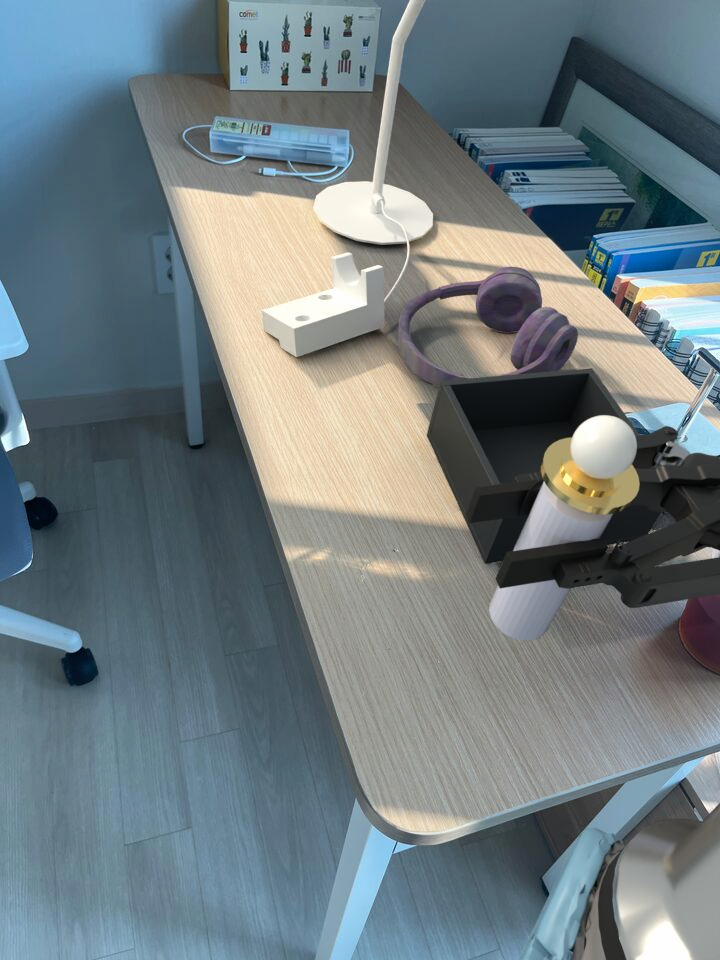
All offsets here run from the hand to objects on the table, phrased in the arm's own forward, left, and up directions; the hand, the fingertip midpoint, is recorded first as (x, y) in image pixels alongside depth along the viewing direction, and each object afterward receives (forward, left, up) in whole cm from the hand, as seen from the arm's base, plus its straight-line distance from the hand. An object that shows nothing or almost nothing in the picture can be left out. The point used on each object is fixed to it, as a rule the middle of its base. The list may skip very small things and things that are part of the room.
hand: (488, 536), depth 47 cm
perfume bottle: (0, -5, -11) cm, 12 cm away
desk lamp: (+67, -16, -21) cm, 72 cm away
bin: (+20, -18, -20) cm, 34 cm away
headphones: (+42, -20, -21) cm, 51 cm away
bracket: (+49, -2, -21) cm, 53 cm away
